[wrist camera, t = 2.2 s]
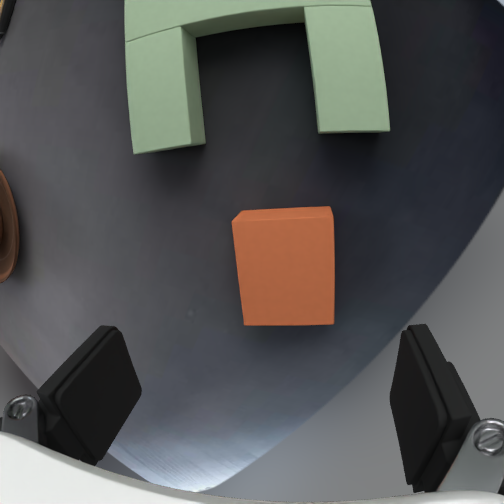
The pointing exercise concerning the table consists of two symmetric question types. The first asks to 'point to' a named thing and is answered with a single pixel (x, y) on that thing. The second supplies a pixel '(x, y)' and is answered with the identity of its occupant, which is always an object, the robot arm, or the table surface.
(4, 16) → the fountain pen
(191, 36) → the base pad
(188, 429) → the table surface
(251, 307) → the orange block
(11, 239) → the cup and saucer
